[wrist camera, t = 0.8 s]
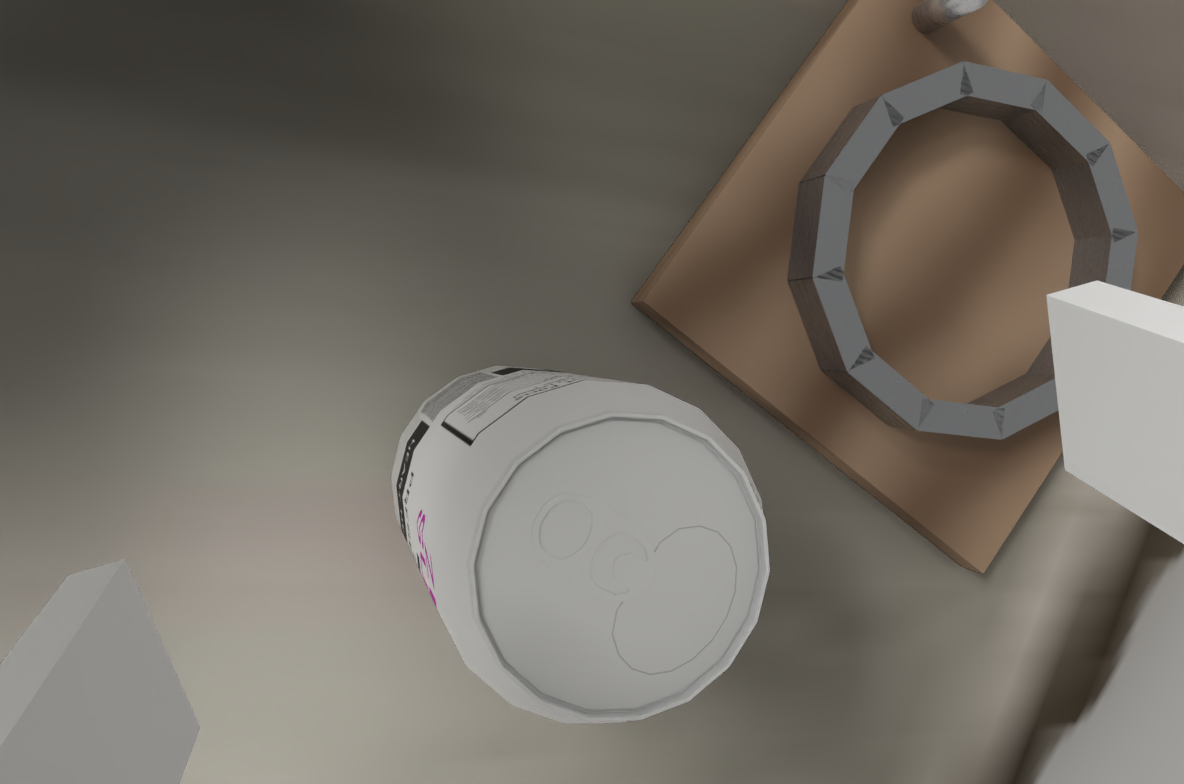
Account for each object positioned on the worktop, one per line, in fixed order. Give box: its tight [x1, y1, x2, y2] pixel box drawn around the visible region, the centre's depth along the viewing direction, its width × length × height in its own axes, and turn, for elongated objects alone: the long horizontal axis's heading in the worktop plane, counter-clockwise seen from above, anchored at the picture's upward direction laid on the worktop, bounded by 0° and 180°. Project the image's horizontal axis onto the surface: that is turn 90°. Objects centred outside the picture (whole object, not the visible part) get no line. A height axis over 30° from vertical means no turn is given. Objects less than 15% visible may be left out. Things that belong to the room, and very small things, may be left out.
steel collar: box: [787, 0, 1138, 440], centre depth 38 cm, size 14×14×3 cm
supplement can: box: [391, 365, 770, 724], centre depth 30 cm, size 8×8×15 cm
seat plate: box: [631, 0, 1184, 574], centre depth 40 cm, size 18×18×2 cm
